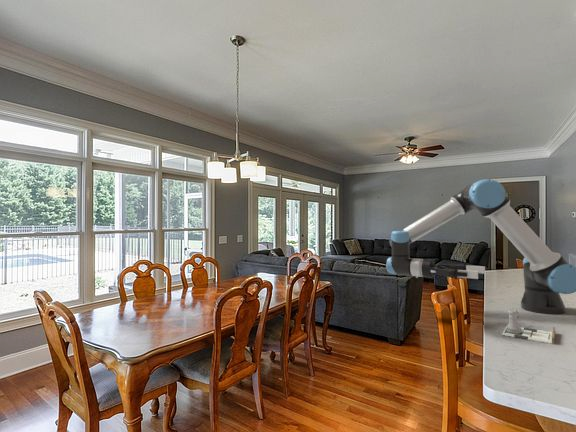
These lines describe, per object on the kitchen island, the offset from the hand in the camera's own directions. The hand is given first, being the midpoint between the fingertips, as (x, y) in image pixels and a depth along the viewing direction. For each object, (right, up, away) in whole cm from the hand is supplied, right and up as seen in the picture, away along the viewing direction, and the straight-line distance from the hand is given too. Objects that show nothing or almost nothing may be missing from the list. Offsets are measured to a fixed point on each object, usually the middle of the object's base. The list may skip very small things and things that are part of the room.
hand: (481, 272), depth 120 cm
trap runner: (+11, -20, -9) cm, 25 cm away
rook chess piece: (+8, -20, -6) cm, 23 cm away
